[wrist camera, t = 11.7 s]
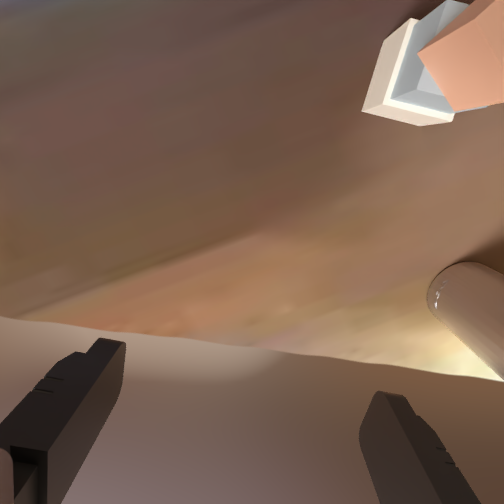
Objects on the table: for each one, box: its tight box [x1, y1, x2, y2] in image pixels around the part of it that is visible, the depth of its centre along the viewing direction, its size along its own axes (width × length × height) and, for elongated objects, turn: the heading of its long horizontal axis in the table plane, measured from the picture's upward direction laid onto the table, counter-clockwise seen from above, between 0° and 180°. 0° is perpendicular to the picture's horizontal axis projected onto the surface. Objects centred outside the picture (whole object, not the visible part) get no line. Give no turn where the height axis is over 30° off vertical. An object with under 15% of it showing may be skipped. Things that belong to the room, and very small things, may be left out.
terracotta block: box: [417, 0, 504, 112], centre depth 20 cm, size 6×6×6 cm
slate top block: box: [390, 0, 488, 114], centre depth 26 cm, size 6×6×5 cm
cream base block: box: [362, 18, 455, 126], centre depth 31 cm, size 7×7×6 cm
